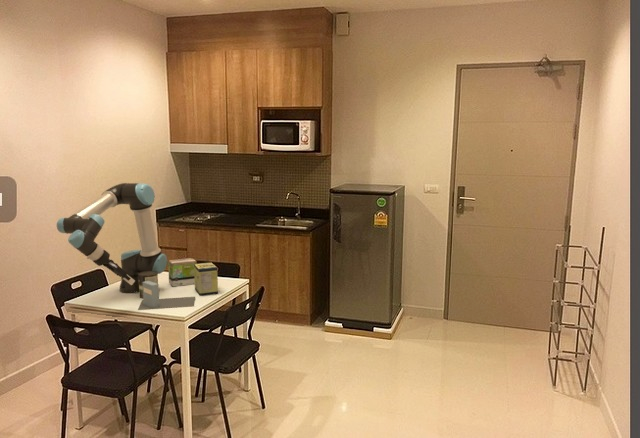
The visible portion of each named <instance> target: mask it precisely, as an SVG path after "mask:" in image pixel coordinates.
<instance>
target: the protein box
mask: <svg viewBox="0 0 640 438" xmlns="http://www.w3.org/2000/svg"><path fill="white" fill-rule="evenodd" d="M194 277H195V284H194V290H195V291H196V293H197V294H198V296H199V297H203V296H210V295H218V294H219V286H218V284H219V283H218V267H217V266H216V265H215V264H213V263H212V261H211V262H200V263H197V264H194Z"/></svg>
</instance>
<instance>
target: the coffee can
mask: <svg viewBox="0 0 640 438" xmlns="http://www.w3.org/2000/svg"><path fill="white" fill-rule="evenodd" d="M158 275H159V274H158V272H157V271H143V272H140V273H138V276H139V292H138V293H139V298H140V299H141V300H143V283H142V282H145V281H151V282H154V283H157V284H158V285H159V278H158V277H159V276H158Z"/></svg>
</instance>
